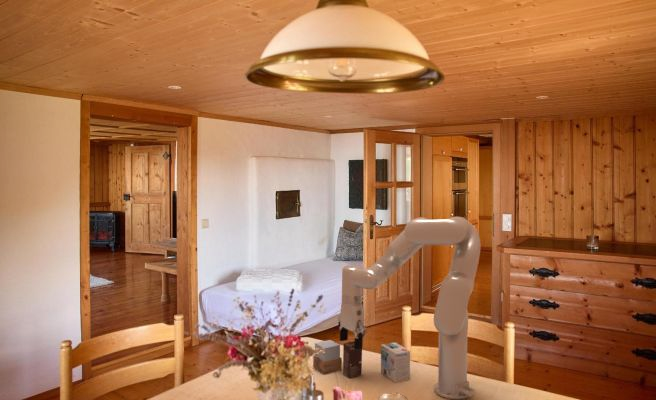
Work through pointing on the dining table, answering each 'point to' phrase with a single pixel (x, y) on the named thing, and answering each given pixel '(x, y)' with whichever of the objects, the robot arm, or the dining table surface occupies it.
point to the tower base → (327, 365)
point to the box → (352, 360)
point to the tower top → (328, 350)
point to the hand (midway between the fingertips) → (350, 344)
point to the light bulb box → (395, 362)
